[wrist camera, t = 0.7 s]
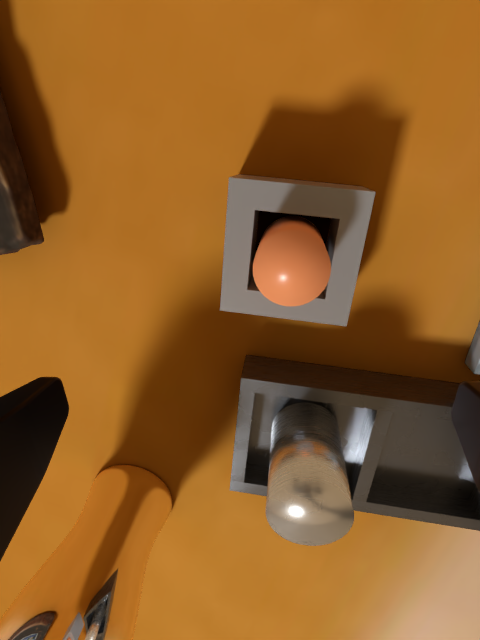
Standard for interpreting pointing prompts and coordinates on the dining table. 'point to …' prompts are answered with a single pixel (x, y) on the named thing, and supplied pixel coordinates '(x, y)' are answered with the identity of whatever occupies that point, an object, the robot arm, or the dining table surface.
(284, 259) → the brown egg
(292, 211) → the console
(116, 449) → the dining table surface
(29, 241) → the religious icon
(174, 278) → the dining table surface
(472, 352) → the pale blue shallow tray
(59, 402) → the robot arm
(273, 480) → the cylinder
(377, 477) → the grey divided tray
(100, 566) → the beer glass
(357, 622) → the dining table surface
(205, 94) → the dining table surface
